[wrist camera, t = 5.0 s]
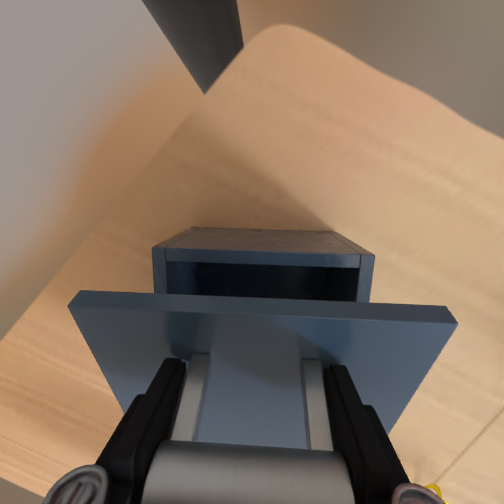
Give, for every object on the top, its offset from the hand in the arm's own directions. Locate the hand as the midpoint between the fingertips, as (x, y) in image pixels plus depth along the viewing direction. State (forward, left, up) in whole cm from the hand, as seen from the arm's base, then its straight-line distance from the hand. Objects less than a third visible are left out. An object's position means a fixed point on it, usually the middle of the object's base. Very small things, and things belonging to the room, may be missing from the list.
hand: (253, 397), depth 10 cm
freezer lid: (+4, -1, -3) cm, 5 cm away
